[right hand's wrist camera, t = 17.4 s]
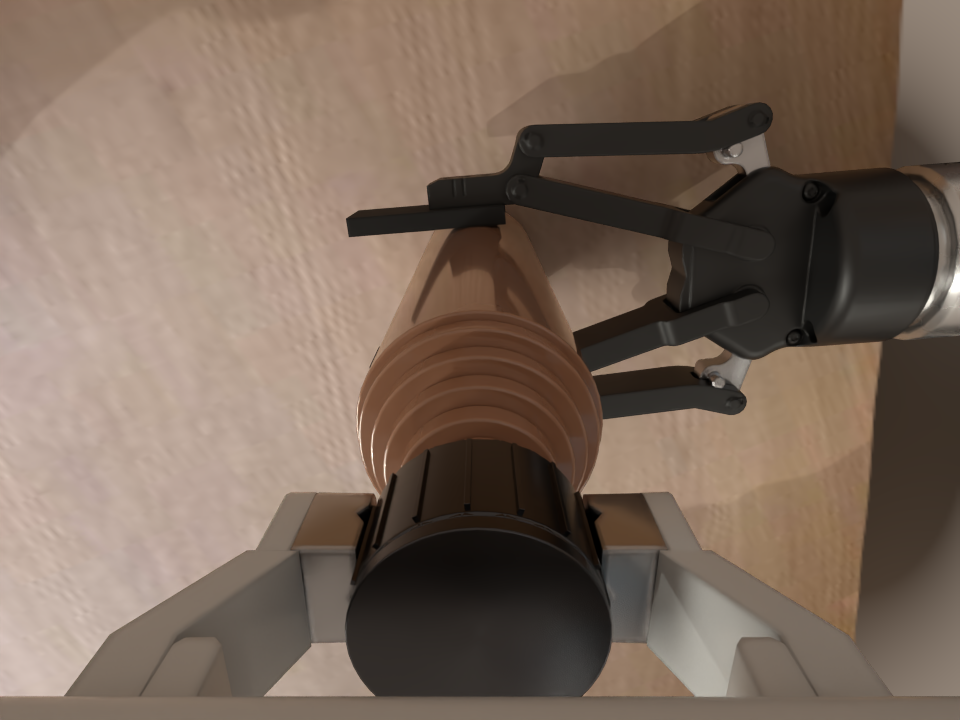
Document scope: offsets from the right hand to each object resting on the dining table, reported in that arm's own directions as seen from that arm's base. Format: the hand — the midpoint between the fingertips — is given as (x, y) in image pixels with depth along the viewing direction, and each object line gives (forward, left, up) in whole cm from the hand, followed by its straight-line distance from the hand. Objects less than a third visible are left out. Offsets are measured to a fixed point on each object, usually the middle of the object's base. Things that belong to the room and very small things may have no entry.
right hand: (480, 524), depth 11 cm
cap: (0, 0, +2) cm, 2 cm away
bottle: (0, 0, -23) cm, 23 cm away
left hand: (-3, -4, -17) cm, 18 cm away
